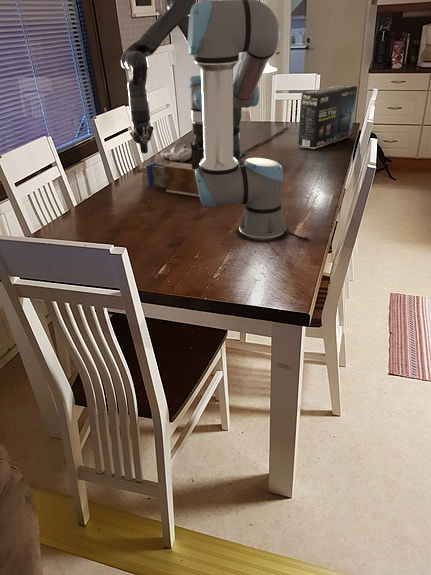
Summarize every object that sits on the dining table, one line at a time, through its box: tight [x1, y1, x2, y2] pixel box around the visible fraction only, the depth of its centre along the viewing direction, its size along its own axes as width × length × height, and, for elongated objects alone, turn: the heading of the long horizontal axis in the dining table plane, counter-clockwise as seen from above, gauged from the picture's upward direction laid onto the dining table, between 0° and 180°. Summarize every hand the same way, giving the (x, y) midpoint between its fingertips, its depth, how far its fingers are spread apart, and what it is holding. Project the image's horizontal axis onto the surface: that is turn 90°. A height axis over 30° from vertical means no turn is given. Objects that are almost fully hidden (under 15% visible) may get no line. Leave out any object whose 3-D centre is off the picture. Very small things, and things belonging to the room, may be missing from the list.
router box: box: [297, 84, 358, 151], centre depth 238 cm, size 36×11×27 cm, turn 134°
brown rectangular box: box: [164, 161, 199, 197], centre depth 183 cm, size 21×6×10 cm, turn 61°
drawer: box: [136, 161, 166, 189], centre depth 188 cm, size 25×5×9 cm, turn 61°
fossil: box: [160, 142, 192, 163], centre depth 229 cm, size 18×11×15 cm
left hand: (144, 152), depth 188 cm, fingers closed
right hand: (204, 183), depth 180 cm, fingers closed on brown rectangular box, 6 cm apart
